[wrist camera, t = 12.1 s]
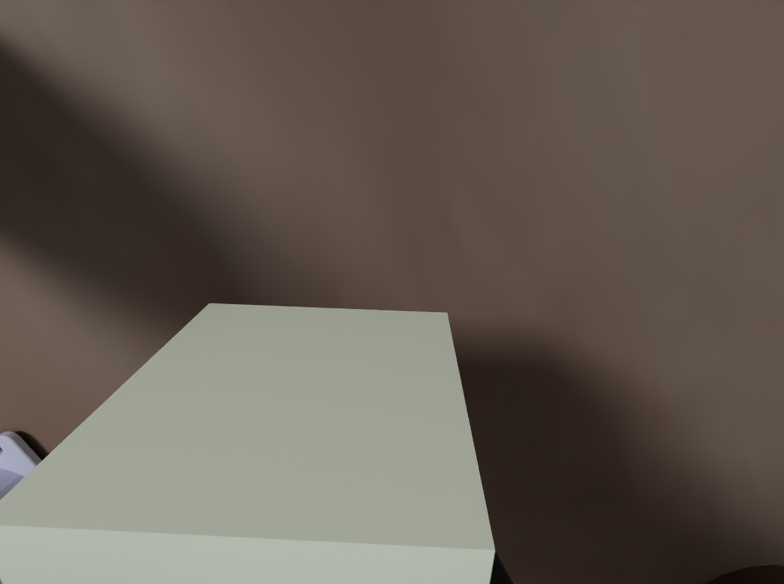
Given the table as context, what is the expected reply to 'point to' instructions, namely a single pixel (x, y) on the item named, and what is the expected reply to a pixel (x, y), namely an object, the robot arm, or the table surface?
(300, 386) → the mint green block
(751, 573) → the lantern
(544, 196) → the table surface
